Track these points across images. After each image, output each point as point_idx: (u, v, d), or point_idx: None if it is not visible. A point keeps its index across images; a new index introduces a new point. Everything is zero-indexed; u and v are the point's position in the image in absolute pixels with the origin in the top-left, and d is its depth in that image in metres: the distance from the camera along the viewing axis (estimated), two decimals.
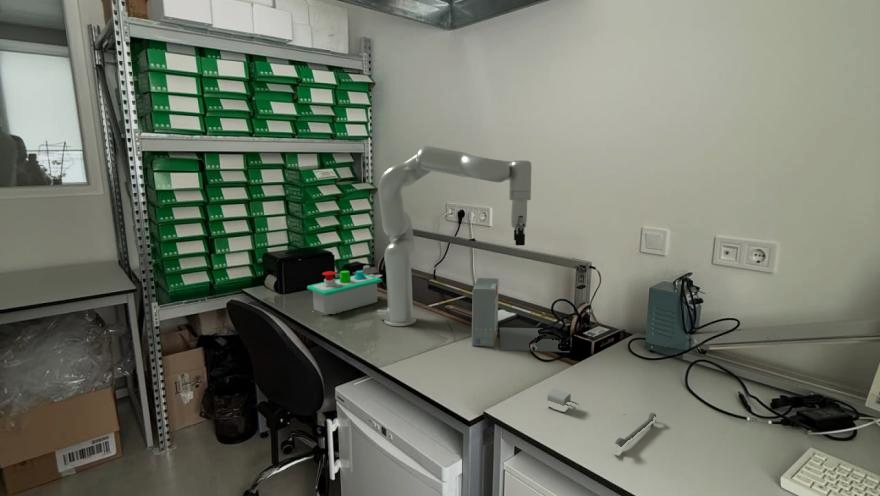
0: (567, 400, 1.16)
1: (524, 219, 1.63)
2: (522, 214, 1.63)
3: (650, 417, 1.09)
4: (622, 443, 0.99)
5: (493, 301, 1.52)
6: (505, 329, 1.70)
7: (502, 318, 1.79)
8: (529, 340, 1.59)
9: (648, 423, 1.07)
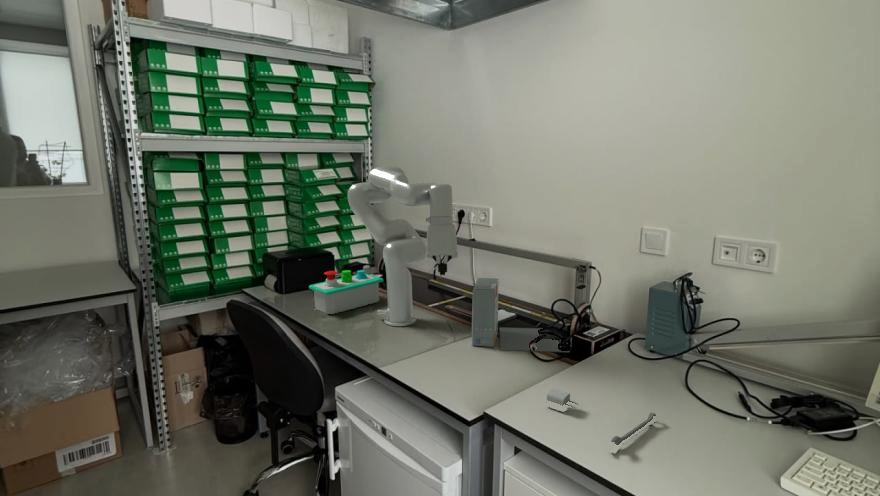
0: (566, 400, 1.16)
1: None
2: None
3: (649, 417, 1.09)
4: (618, 441, 0.99)
5: (493, 301, 1.52)
6: (505, 329, 1.70)
7: (502, 318, 1.78)
8: (529, 340, 1.59)
9: None
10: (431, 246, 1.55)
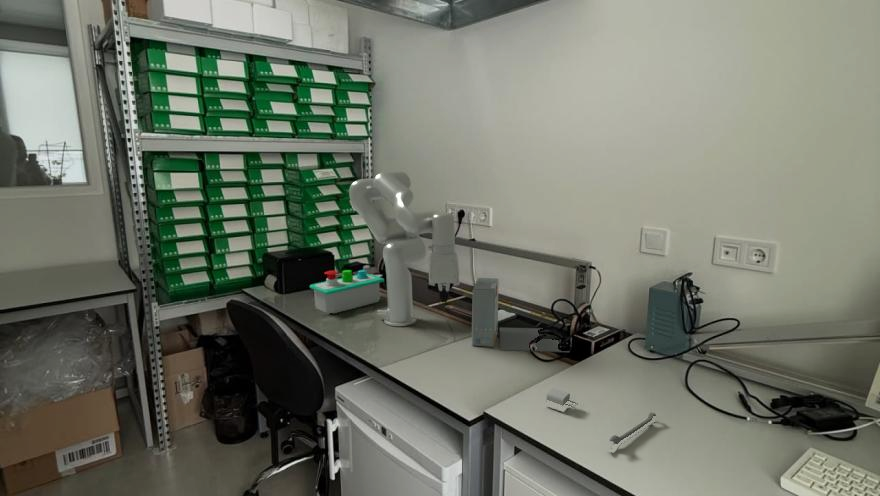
0: (566, 400, 1.16)
1: None
2: None
3: (649, 417, 1.09)
4: (617, 441, 1.00)
5: (493, 301, 1.52)
6: (505, 329, 1.70)
7: (502, 319, 1.78)
8: (529, 340, 1.59)
9: (647, 422, 1.07)
10: (433, 274, 1.57)
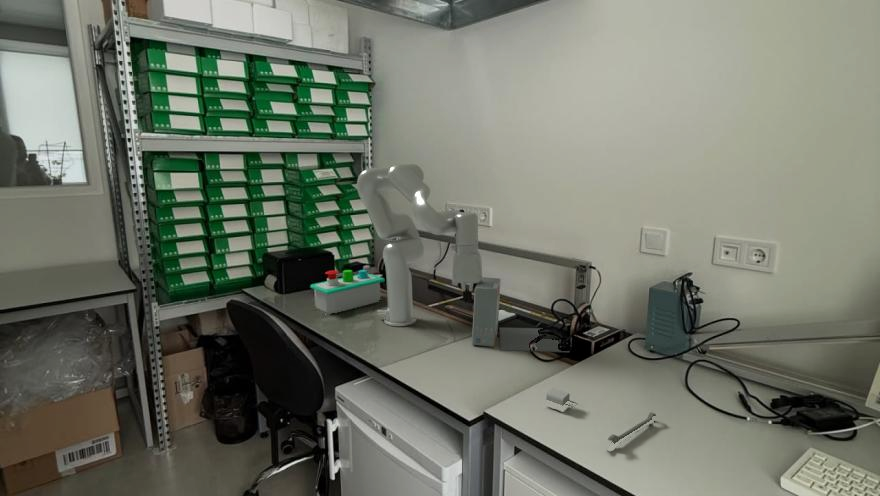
0: (566, 400, 1.16)
1: None
2: None
3: (649, 416, 1.09)
4: (615, 440, 1.00)
5: (495, 301, 1.52)
6: (505, 329, 1.70)
7: (502, 318, 1.78)
8: (529, 340, 1.59)
9: (646, 422, 1.07)
10: (457, 274, 1.56)
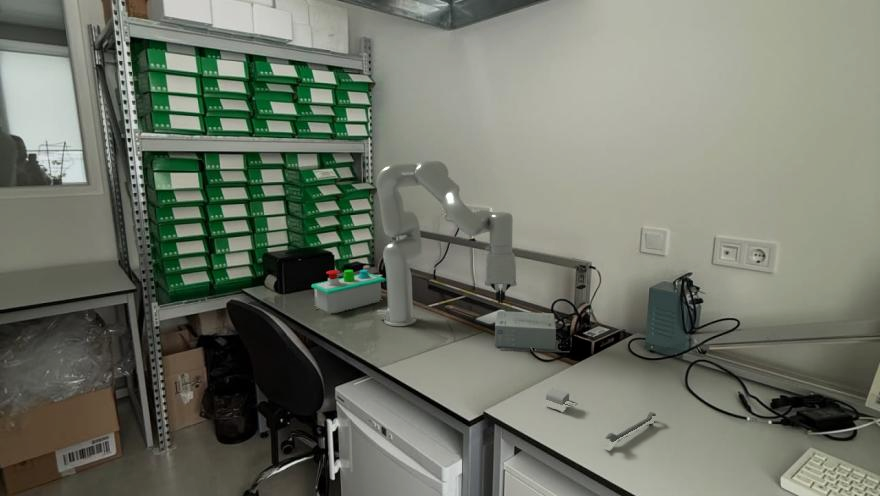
0: (566, 399, 1.16)
1: None
2: None
3: (649, 416, 1.09)
4: (613, 438, 1.00)
5: (543, 348, 1.51)
6: None
7: None
8: None
9: None
10: (491, 275, 1.55)
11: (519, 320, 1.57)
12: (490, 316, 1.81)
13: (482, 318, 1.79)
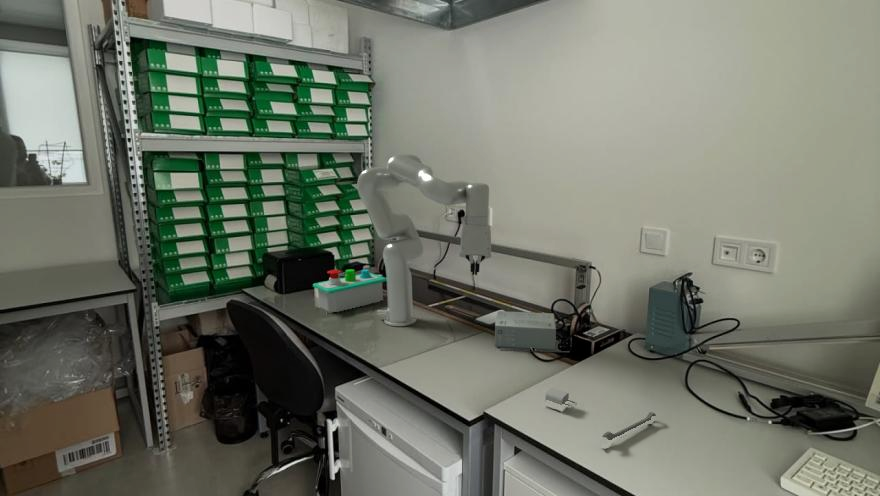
0: (565, 399, 1.16)
1: None
2: None
3: (648, 416, 1.09)
4: (610, 437, 1.01)
5: (543, 348, 1.51)
6: None
7: None
8: None
9: (645, 421, 1.08)
10: (465, 246, 1.54)
11: (519, 320, 1.57)
12: (490, 316, 1.81)
13: (482, 318, 1.79)
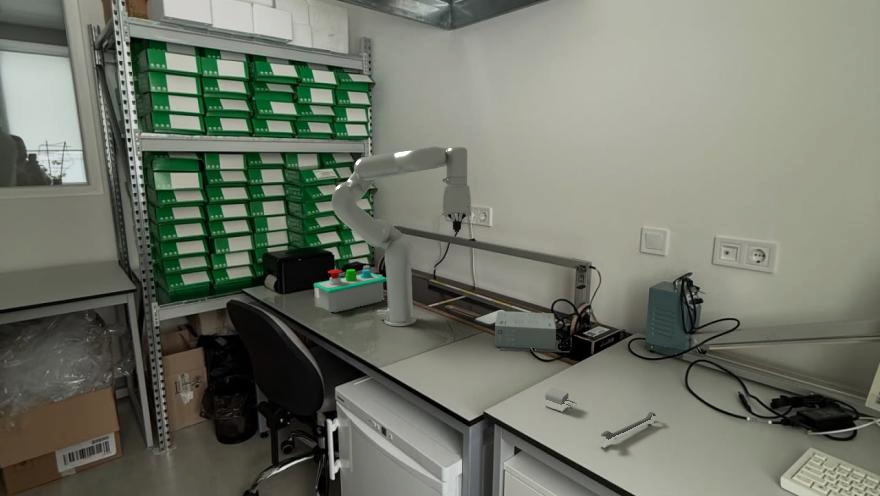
0: (565, 399, 1.16)
1: None
2: None
3: (648, 416, 1.09)
4: (609, 436, 1.01)
5: (543, 348, 1.51)
6: None
7: None
8: None
9: (644, 421, 1.08)
10: (447, 204, 1.69)
11: (519, 320, 1.57)
12: (490, 316, 1.81)
13: (482, 318, 1.79)
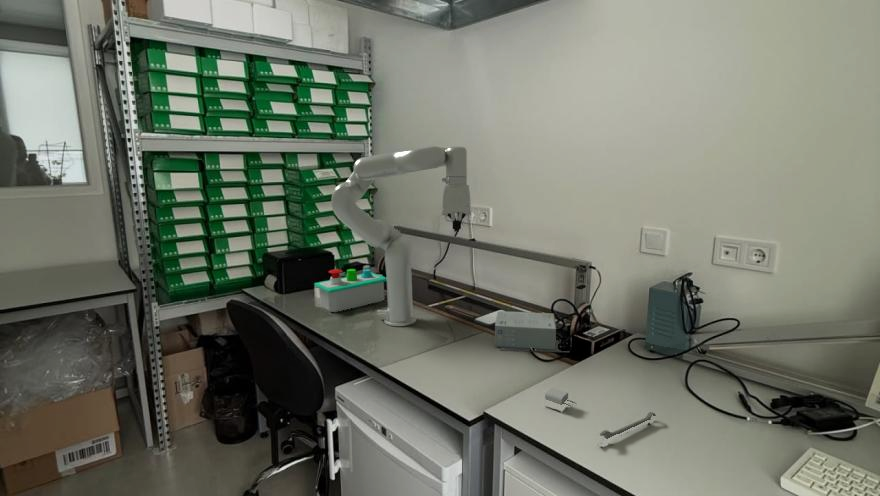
0: (565, 399, 1.16)
1: None
2: None
3: (648, 416, 1.09)
4: (608, 436, 1.01)
5: (543, 348, 1.51)
6: None
7: None
8: None
9: (644, 421, 1.08)
10: (447, 204, 1.69)
11: (519, 320, 1.57)
12: (490, 316, 1.81)
13: (482, 318, 1.79)
